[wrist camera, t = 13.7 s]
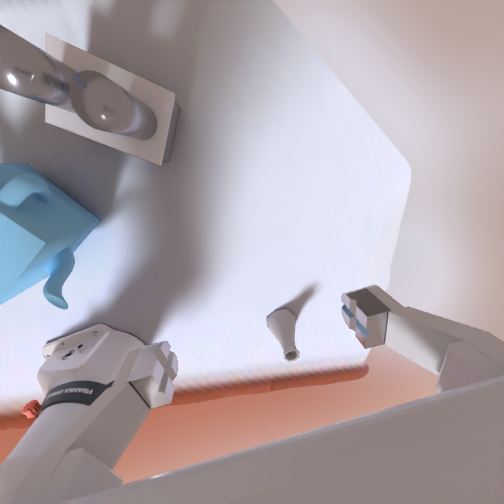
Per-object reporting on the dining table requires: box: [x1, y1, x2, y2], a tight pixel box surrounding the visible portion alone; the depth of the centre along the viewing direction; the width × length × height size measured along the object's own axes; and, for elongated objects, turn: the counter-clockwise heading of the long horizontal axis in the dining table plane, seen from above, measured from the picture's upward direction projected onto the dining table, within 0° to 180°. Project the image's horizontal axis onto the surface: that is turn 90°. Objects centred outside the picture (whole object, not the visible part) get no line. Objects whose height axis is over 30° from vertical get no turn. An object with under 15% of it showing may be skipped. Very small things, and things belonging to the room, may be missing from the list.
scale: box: [45, 33, 180, 166], centre depth 28 cm, size 14×9×6 cm, turn 69°
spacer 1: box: [0, 25, 79, 114], centre depth 20 cm, size 4×4×9 cm
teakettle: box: [0, 164, 101, 309], centre depth 28 cm, size 19×19×15 cm
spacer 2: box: [69, 70, 157, 140], centre depth 22 cm, size 4×4×9 cm
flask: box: [266, 309, 299, 362], centre depth 44 cm, size 7×7×10 cm
